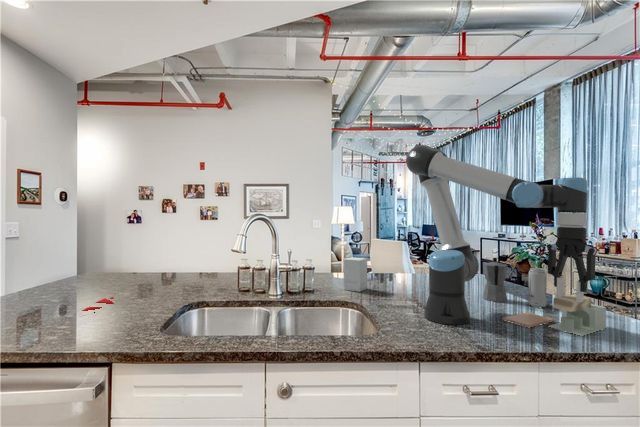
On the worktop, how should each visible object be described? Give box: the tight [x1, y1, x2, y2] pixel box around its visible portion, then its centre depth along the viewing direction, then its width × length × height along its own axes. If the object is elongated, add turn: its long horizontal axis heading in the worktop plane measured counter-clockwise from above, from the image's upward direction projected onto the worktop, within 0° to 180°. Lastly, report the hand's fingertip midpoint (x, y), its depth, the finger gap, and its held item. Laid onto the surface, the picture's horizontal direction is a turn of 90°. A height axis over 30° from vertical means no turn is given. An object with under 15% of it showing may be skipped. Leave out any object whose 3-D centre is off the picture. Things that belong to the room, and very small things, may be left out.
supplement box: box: [343, 256, 368, 293], centre depth 166 cm, size 9×9×15 cm
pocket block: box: [548, 303, 607, 337], centre depth 110 cm, size 15×9×7 cm, turn 118°
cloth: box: [81, 296, 115, 311], centre depth 135 cm, size 26×14×2 cm, turn 177°
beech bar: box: [552, 294, 592, 312], centre depth 109 cm, size 12×5×3 cm, turn 118°
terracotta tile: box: [502, 311, 555, 328], centre depth 117 cm, size 14×9×1 cm, turn 118°
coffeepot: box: [482, 257, 508, 303], centre depth 145 cm, size 15×9×18 cm, turn 156°
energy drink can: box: [527, 267, 547, 308], centre depth 136 cm, size 6×6×15 cm
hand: (569, 299), depth 109 cm, fingers closed on beech bar, 5 cm apart
